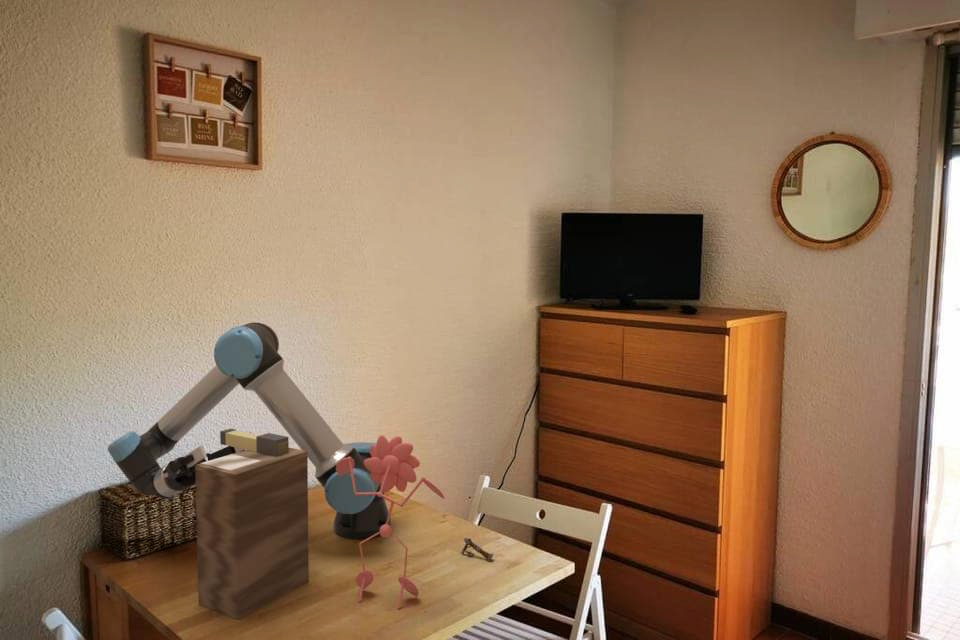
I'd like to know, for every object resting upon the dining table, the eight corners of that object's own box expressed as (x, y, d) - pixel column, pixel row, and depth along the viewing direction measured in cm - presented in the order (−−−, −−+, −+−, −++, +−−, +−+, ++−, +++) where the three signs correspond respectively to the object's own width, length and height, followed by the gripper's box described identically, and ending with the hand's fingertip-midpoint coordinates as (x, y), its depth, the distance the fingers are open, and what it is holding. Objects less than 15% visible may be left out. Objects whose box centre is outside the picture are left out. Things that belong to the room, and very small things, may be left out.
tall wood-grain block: (308, 581, 165) (307, 450, 162) (238, 619, 148) (235, 473, 145) (270, 569, 171) (268, 442, 168) (198, 604, 154) (195, 463, 151)
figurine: (434, 617, 150) (437, 448, 147) (322, 598, 158) (323, 437, 155) (459, 586, 164) (462, 432, 162) (356, 570, 172) (357, 423, 169)
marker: (288, 453, 161) (288, 436, 160) (276, 456, 157) (276, 440, 157) (232, 441, 170) (231, 425, 169) (219, 444, 167) (219, 428, 166)
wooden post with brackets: (460, 549, 182) (467, 534, 181) (486, 567, 179) (494, 553, 178) (457, 552, 180) (463, 537, 179) (483, 570, 177) (490, 555, 176)
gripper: (225, 477, 187) (275, 447, 177) (135, 506, 166) (187, 473, 156) (214, 450, 189) (264, 418, 178) (124, 475, 167) (175, 441, 157)
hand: (228, 444), depth 167 cm, fingers open, 13 cm apart
